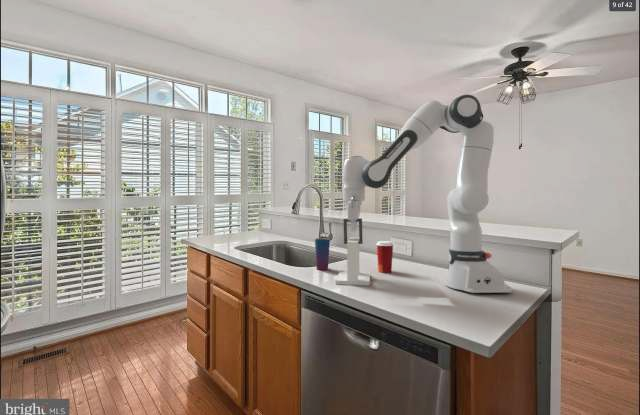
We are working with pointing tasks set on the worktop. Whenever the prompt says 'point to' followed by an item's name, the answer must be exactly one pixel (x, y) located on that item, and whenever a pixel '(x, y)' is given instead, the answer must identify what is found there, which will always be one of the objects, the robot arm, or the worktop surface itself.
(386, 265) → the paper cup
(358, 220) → the loop
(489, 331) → the worktop surface
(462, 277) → the robot arm
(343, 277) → the white post stand
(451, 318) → the worktop surface
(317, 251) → the cup
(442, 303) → the worktop surface
